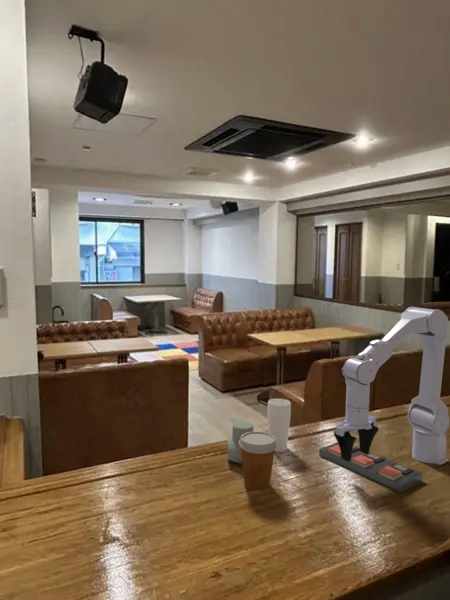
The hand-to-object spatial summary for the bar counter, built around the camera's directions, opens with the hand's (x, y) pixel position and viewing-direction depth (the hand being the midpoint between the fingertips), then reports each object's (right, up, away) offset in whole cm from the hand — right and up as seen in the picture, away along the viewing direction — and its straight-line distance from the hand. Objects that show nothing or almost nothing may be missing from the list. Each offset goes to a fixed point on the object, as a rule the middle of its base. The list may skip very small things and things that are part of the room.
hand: (355, 456), depth 113 cm
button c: (+8, -5, -4) cm, 10 cm away
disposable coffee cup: (-26, -6, -4) cm, 27 cm away
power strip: (+2, -5, +7) cm, 9 cm away
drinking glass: (-18, -4, +15) cm, 24 cm away
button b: (+3, -4, +2) cm, 6 cm away
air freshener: (-29, -5, +10) cm, 31 cm away
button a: (-2, -4, +9) cm, 10 cm away
